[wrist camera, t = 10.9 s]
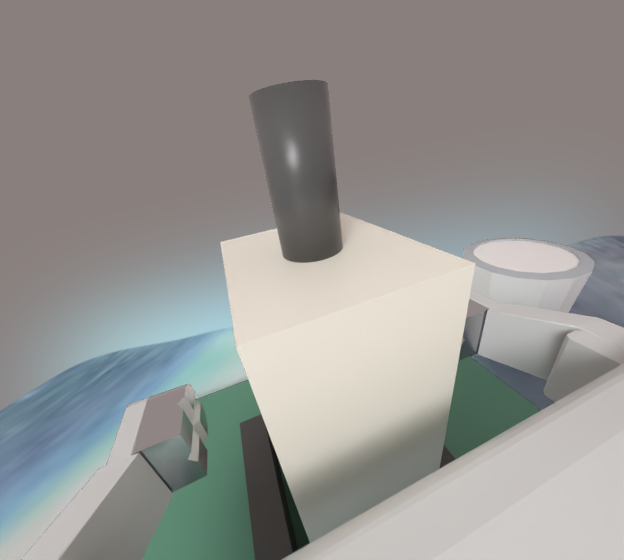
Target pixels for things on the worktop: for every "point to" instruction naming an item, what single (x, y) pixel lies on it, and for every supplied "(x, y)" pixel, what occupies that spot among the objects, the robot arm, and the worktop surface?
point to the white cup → (529, 272)
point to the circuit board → (271, 480)
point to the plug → (340, 325)
